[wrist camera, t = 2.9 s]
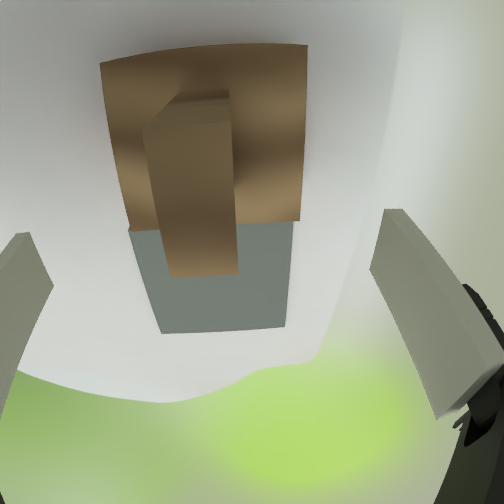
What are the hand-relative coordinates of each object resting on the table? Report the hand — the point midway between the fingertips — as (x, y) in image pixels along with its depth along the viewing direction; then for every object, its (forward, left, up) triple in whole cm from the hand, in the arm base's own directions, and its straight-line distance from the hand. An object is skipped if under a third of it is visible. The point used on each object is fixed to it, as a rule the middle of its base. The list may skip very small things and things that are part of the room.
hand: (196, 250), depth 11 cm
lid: (0, 0, -13) cm, 13 cm away
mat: (+19, -1, -19) cm, 26 cm away
